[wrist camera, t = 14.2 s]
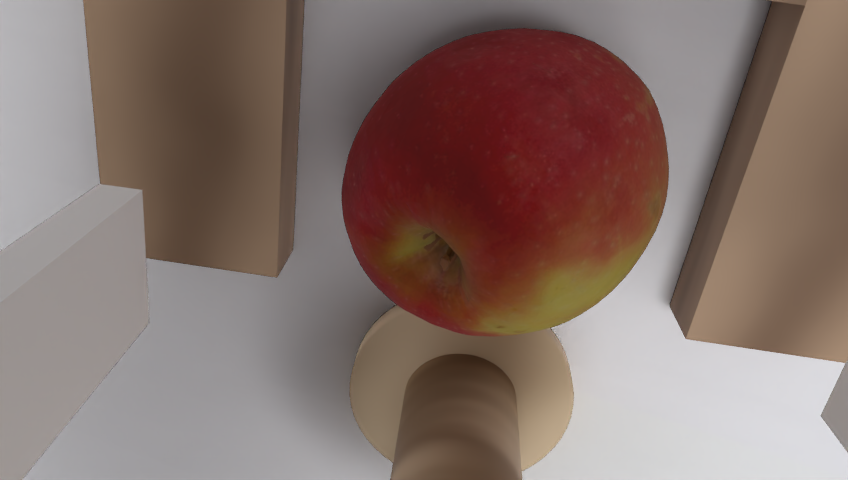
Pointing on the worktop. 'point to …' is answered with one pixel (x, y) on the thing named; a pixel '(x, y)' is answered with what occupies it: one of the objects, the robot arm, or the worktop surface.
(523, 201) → the apple
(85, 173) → the worktop surface
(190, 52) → the notched board
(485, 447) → the bobbin
